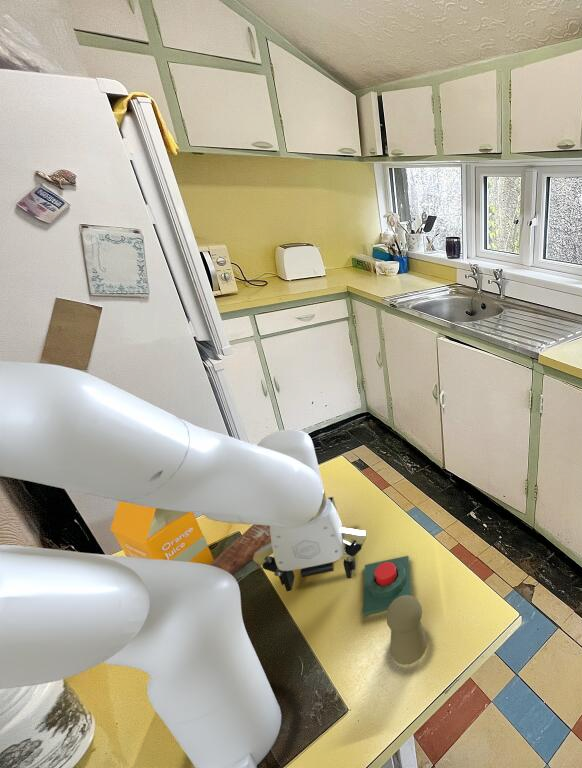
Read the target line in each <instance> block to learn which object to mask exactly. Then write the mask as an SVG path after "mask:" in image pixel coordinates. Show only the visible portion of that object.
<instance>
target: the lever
mask: <svg viewBox="0 0 582 768" xmlns="http://www.w3.org/2000/svg"><path fill="white" fill-rule="evenodd" d="M334 571H335V563H334V562H330V563H325V564H321V565H316V566H311V567H306V568H301V569H300V577H301V578H307V577H312V576H317V575H321V574H326V573H331V572H334Z"/></svg>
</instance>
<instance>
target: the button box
mask: <svg viewBox="0 0 582 768" xmlns="http://www.w3.org/2000/svg"><path fill="white" fill-rule="evenodd" d="M385 562H391V563H393V564H394V565H395V567H396V573H397V576H396V579H395V581H394V582H393V583H391V584H389V585H387V586H381V585H379V584H378V583H377V582H376V578H375V570H376V568H377V567H378V566H379V565H380V564H382V563H385ZM363 574H364V576H363V577H364V578H363V579H364V580H363V606H362V607H363V608H362V609H363V610H362V614H363V617H366V616H371V615H376V614H379V613H383V612H387V609H388V607H389V605H390V604H391V603H392V602H393V601H394V600H395V599H396V598H398V597H400V596H403V595H409V596H413V595H412V584H411V571H410V558H409V555H404V556H401V557H396V558H395V557H394V558H391V559H387V560H381V561H376V562H372V563H367V564H364V573H363Z"/></svg>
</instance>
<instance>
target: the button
mask: <svg viewBox="0 0 582 768" xmlns="http://www.w3.org/2000/svg"><path fill="white" fill-rule="evenodd" d="M396 576H397V573H396V567H395V565H394V564H393V563H391V562H385V563H382V564H380V565H379V566H378V567H377V568H376V570H375V578H376V582H377V583H378V584H379V585H381V586H387V585H389V584H391V583H393V582H394V581H395V579H396Z"/></svg>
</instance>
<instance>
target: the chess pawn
mask: <svg viewBox="0 0 582 768" xmlns="http://www.w3.org/2000/svg"><path fill="white" fill-rule="evenodd" d="M422 615H423V608H422V605H421V602H420V601H419V599H418V598H417V597H415V596H413V595H412V596H409V595H403V596H400V597H398V598H396V599H395V600H394V601H393V602H392V603H391V604H390V605H389V607H388V609H387V611H386V615H385V620H386V625H387V626H388V628H389V629H390V656H391V657H392V659H393V661H394V662H396V663H397V664H399V665H403V666H405V665H406V666H407V665H411V664H414V663H416V662H417V661H419V660H420V659H421V658H422V657H423V656H424V654H425V653H426V650H427V647H428V639H427V638H428V637H427V635H426V632H425V630H424V627H423V624H422V621H421V620H422Z"/></svg>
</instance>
